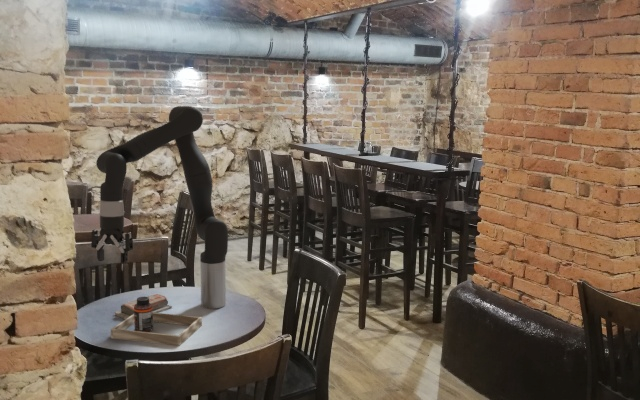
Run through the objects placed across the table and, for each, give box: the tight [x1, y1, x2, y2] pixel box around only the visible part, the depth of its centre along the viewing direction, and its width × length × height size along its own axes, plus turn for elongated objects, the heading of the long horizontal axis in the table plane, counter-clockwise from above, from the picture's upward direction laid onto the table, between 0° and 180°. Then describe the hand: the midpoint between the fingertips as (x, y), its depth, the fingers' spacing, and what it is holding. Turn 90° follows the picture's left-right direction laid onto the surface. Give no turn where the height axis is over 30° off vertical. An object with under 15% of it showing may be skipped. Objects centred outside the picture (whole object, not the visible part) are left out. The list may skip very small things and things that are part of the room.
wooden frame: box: [110, 312, 203, 346], centre depth 215 cm, size 18×24×3 cm
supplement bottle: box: [134, 296, 154, 333], centre depth 215 cm, size 6×6×11 cm
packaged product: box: [114, 294, 173, 320], centre depth 234 cm, size 18×5×10 cm
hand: (112, 262), depth 212 cm, fingers open, 8 cm apart
